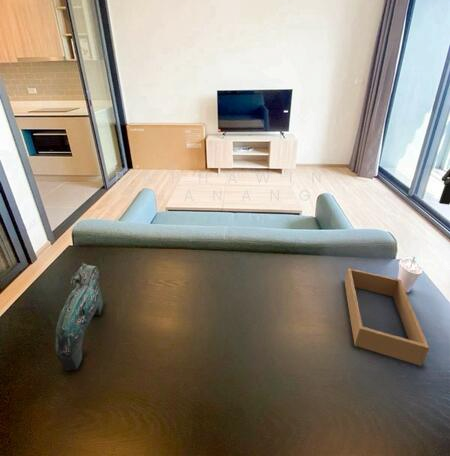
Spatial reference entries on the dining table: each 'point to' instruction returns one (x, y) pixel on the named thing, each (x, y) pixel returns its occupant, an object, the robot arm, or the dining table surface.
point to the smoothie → (409, 273)
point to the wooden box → (380, 341)
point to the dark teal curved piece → (77, 316)
